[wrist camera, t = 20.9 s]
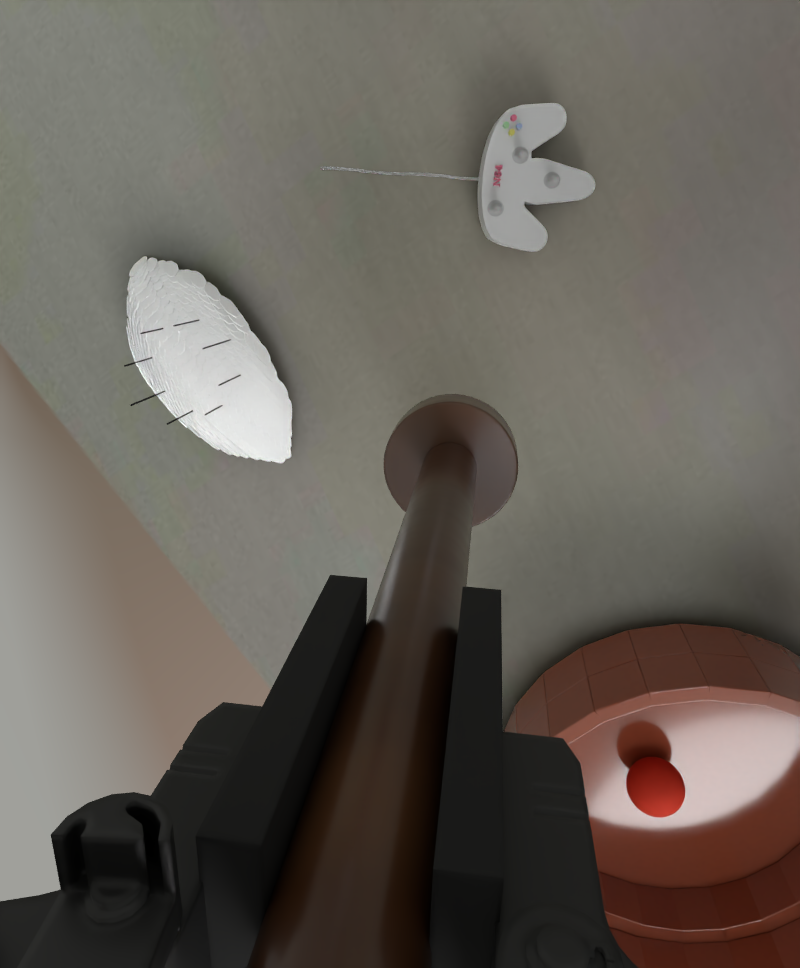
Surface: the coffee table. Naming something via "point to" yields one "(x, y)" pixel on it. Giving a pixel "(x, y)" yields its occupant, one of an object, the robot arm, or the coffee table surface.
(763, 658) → the bowl
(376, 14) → the coffee table surface
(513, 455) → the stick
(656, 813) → the ball
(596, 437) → the coffee table surface
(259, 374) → the pincushion
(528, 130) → the game controller
